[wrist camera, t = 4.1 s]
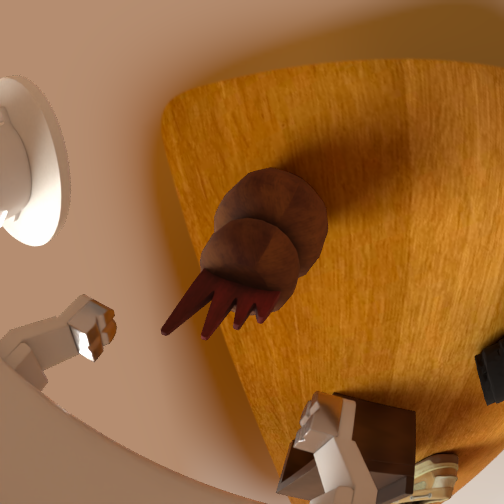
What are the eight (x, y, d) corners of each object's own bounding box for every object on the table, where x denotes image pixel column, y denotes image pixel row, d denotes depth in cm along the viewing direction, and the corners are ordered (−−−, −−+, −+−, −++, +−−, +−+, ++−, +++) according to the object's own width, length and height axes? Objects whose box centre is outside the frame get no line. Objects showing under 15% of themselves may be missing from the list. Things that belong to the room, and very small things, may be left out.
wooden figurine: (231, 203, 25) (120, 336, 13) (266, 143, 22) (149, 248, 10) (302, 249, 25) (248, 413, 13) (344, 195, 22) (327, 358, 10)
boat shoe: (355, 493, 54) (347, 533, 44) (419, 449, 37) (415, 509, 28) (394, 495, 52) (388, 534, 43) (466, 451, 36) (467, 506, 27)
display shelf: (290, 443, 44) (271, 506, 34) (333, 392, 34) (316, 482, 24) (355, 458, 43) (344, 519, 33) (415, 411, 33) (413, 494, 23)
